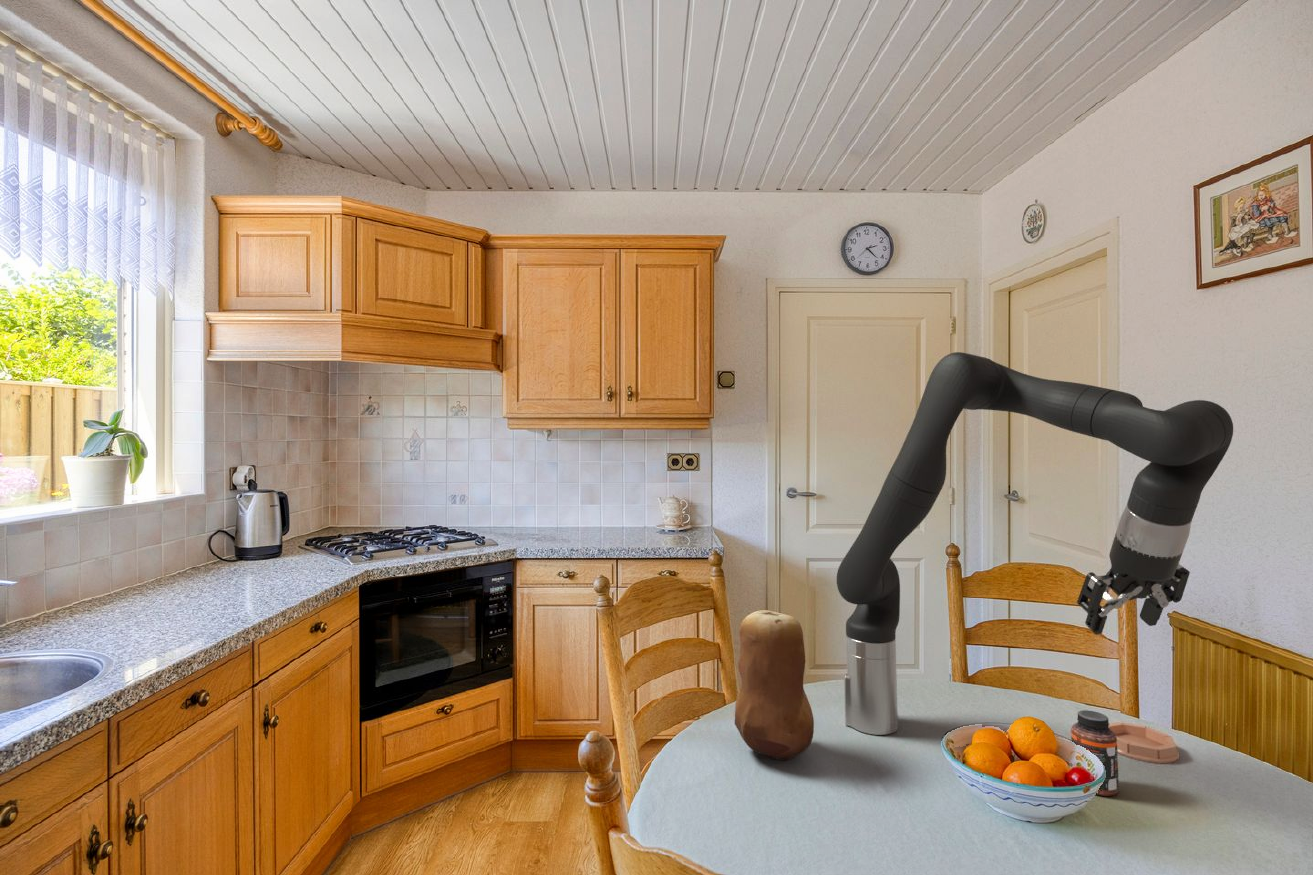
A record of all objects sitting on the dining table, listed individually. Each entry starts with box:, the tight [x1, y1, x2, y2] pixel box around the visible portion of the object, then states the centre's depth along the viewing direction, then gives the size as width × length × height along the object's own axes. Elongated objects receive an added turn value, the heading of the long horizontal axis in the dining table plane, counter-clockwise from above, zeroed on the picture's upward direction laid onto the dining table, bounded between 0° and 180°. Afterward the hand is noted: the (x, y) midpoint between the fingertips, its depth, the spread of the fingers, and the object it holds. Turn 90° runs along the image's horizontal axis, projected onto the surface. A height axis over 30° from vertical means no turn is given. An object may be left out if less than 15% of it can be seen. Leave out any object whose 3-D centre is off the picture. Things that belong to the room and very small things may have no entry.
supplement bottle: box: [1070, 709, 1120, 797], centre depth 96 cm, size 6×6×11 cm
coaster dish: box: [1108, 721, 1180, 764], centre depth 108 cm, size 11×11×2 cm
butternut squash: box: [734, 609, 815, 761], centre depth 109 cm, size 14×13×25 cm
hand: (1120, 625), depth 91 cm, fingers open, 8 cm apart
